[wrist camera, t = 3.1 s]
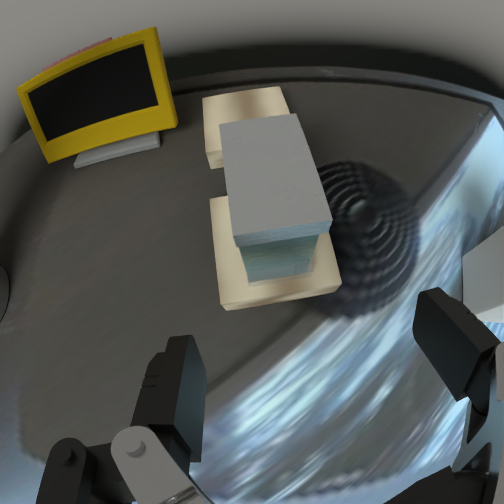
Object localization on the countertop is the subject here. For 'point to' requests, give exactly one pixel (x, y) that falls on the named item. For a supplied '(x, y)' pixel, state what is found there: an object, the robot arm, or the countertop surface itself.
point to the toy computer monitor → (101, 100)
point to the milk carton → (485, 279)
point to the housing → (273, 197)
